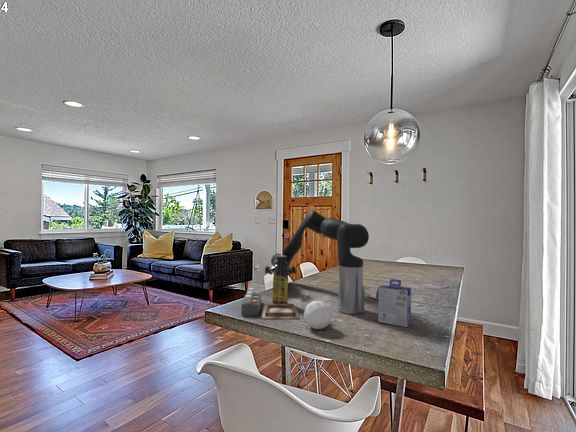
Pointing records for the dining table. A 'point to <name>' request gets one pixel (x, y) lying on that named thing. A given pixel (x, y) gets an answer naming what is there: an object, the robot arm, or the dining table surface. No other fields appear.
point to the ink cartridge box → (394, 304)
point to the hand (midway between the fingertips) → (280, 272)
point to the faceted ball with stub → (317, 315)
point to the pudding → (376, 294)
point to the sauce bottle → (280, 281)
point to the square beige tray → (280, 311)
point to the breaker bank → (251, 303)
